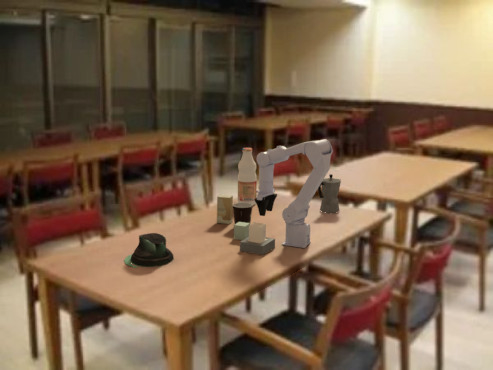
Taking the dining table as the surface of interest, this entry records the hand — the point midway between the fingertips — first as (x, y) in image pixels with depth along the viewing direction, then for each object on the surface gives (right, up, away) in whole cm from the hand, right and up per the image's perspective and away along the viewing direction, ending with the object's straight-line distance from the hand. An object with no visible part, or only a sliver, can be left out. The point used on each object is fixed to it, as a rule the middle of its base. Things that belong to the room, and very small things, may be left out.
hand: (265, 213), depth 240 cm
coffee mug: (-10, -7, +13) cm, 18 cm away
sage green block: (-10, -10, 0) cm, 14 cm away
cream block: (-4, -10, -14) cm, 17 cm away
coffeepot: (+31, -1, +40) cm, 51 cm away
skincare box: (-18, -5, +21) cm, 28 cm away
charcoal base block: (-4, -14, -13) cm, 19 cm away
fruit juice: (-8, +2, +53) cm, 54 cm away
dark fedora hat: (-43, -16, -25) cm, 52 cm away
